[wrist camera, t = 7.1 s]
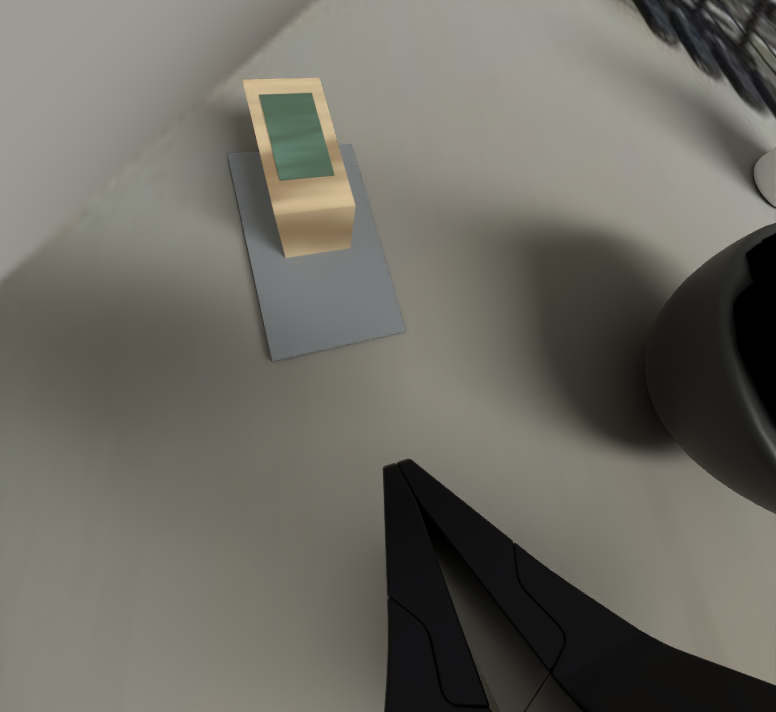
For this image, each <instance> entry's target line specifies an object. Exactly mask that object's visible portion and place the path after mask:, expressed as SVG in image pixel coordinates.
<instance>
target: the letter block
mask: <svg viewBox="0 0 776 712" xmlns="http://www.w3.org/2000/svg"><path fill="white" fill-rule="evenodd" d="M243 84H244V88H245V92H246V97H247V101H248V105H249V109H250V114H251V118H252V122H253V126H254V131H255V135H256V139H257V143H258V148H259V152H260V156H261V160H262V164H263V169H264V173H265V177H266V181H267V186H268V190H269V194H270V198H271V203H272V207H273V211H274V215H275V219H276V223H277V227H278V231H279V235H280V238H281V242H282V246H283V250H284V254H285V257H286V258H289V257H295V256H302V255H308V254H315V253H322V252H328V251H335V250H341V249H348V248H350V247H351V239H352V231H353V222H354V214H355V202H354V198H353V195H352V191H351V188H350V184H349V181H348V177H347V174H346V170H345V167H344V163H343V160H342V156H341V153H340V149H339V146H338V142H337V139H336V135H335V132H334V128H333V124H332V121H331V117H330V114H329V110H328V107H327V103H326V100H325V96H324V93H323V89H322V86H321V82H320V79H319V78H296V79H255V80H243Z"/></svg>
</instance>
